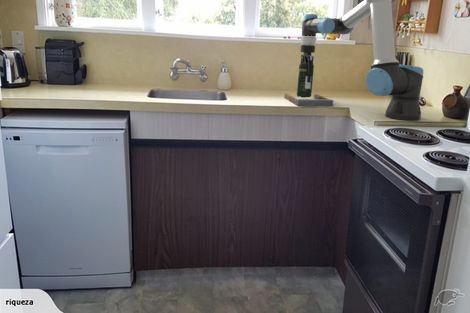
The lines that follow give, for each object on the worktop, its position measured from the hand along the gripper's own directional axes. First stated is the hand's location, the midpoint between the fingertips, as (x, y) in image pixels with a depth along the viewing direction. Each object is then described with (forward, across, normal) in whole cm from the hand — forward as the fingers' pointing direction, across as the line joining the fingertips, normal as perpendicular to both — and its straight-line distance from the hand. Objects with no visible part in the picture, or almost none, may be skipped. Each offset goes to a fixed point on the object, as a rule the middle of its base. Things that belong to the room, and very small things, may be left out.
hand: (304, 87), depth 231 cm
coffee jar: (+5, 0, 0) cm, 5 cm away
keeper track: (+7, -5, 0) cm, 9 cm away
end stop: (+7, -18, 0) cm, 19 cm away
